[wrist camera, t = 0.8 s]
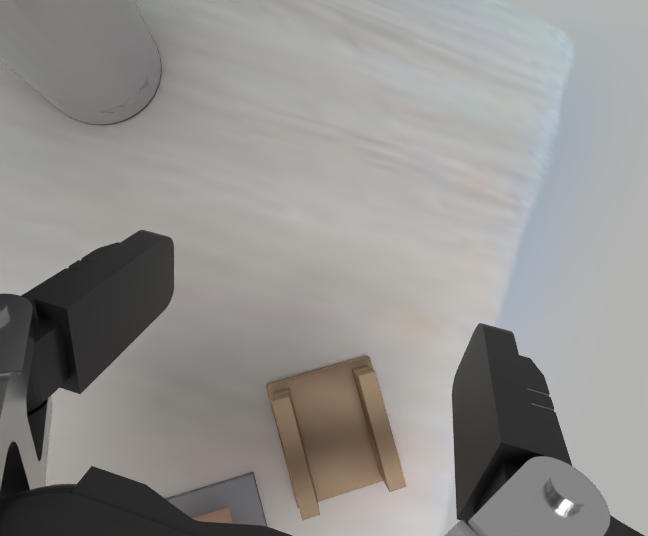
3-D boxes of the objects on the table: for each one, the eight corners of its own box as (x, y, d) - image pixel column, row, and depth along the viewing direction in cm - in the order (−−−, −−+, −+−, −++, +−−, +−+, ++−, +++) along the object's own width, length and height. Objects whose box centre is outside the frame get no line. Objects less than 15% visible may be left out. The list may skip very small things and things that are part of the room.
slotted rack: (267, 383, 33) (264, 395, 29) (366, 355, 34) (377, 362, 30) (297, 500, 33) (299, 529, 29) (397, 468, 34) (413, 492, 29)
